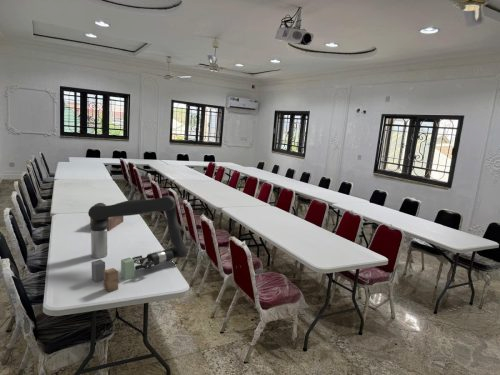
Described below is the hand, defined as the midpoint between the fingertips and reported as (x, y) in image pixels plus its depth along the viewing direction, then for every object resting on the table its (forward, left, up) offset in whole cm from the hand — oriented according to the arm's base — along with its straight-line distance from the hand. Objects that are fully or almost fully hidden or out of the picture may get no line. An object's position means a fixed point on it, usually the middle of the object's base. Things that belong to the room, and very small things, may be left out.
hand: (131, 265), depth 189 cm
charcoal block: (-7, -15, -6) cm, 18 cm away
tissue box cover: (-92, +32, -7) cm, 98 cm away
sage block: (0, -2, -6) cm, 6 cm away
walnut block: (+7, -15, -6) cm, 18 cm away
